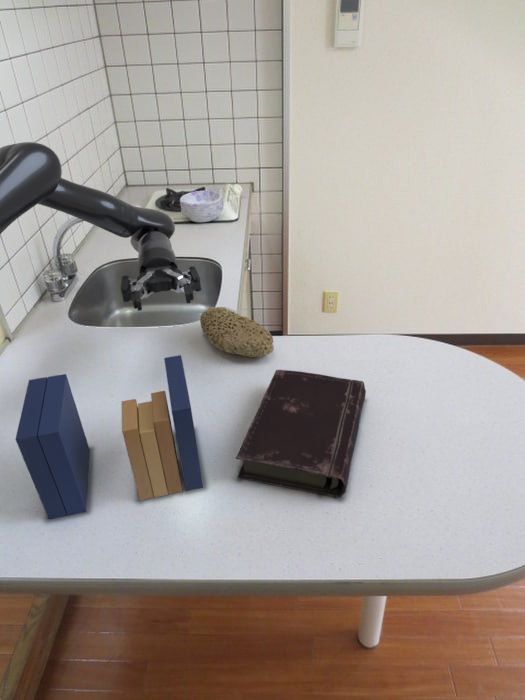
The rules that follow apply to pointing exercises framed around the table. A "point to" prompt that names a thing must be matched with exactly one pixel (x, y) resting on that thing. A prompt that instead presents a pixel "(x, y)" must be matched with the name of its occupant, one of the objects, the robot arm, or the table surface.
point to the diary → (304, 433)
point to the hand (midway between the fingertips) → (163, 302)
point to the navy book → (183, 422)
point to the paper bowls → (202, 205)
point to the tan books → (151, 446)
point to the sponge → (235, 333)
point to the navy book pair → (54, 446)
